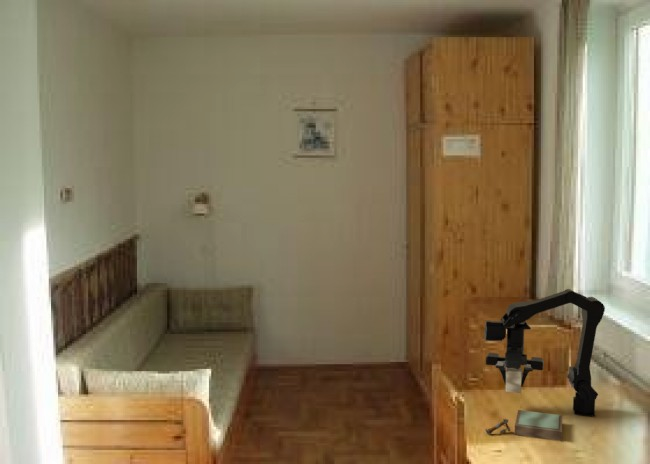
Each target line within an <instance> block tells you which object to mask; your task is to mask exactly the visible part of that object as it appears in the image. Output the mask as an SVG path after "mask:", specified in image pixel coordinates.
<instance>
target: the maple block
mask: <svg viewBox="0 0 650 464" xmlns="http://www.w3.org/2000/svg"><path fill="white" fill-rule="evenodd" d="M522 376H523V368H520V369H515V368H506V385H505V393H506V392H507V393H515V394H521V393H522V388H523V387H521V382H522Z"/></svg>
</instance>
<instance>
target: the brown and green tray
mask: <svg viewBox="0 0 650 464" xmlns="http://www.w3.org/2000/svg"><path fill="white" fill-rule="evenodd" d="M513 435H514V436H521V437H527V438H528V437H529V438H535V439H542V440H548V441H549V440H550V441H557V442H558V441H559V442H562V439H563V436H562V435H563V415H562V414H555V413H546V412H539V411H532V410H531V411H530V410H521V409H517V414H516V419H515V423H514V433H513Z"/></svg>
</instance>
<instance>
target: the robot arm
mask: <svg viewBox="0 0 650 464" xmlns="http://www.w3.org/2000/svg"><path fill="white" fill-rule="evenodd" d="M567 304H572V305H573V306H576V307H578V308H580V309H581V316H582V317H581V318H582V327H581V333H580V339H579V344H578V349H577V355H576V362H575V363H574V365H573V367H572V366H570V365H569V366H568V373H567V376H566V378H567V379H568V382H569V384H570V385H571V387H572V388H573V390H574V392H575V395H574V396H573V400H572V410H573V413H574V415H579V416H586V417H595V416H596V400H597V398H598V395H599V394H598V392H597V391H596V390H595V389H594V387H593V386H592V374H591V368H590V367H591V363H592V356H593V355H592V354H593V350H594V344H595V339H596V334H597V333H596V332H597V328H598V326H599V324H600V323H601V321H602V320H603V317H604V314H605V312H606V311H605V310H606V308H605V305H604V303H603V302H602V301H600V300H599V299H598V298H596V297H593V296H584V295H583V294H581V293H578V292H576V291H574V290H573V289H569V288H568V289H565V290H563V291H559V292H557V293H553V294H551V295H548V296H544V297H542V298H538V299H536V300H532V301H521V302H520V301H519V302H514V303H511V304H508V306H507V308H506V309H505V310H506V311H505V314H503V316H502V317H501V318H500V319H499V321H497V320H496V321H495V320H485V324H484V328H483V339H484V341H487V342H491V341H492V342H502V341H504V340H505V339H506V345H505V347H506V348H505V349H506V351H505V354H504V356H500V353H495V352H488V353H487V354H486V356H485V365H487V366H495V369H498V370H499V372H500V373H501V376H502V379H503V382H504V383H503V384H504V385H505V386H506V370H507V368H515V369H522V368H521V367H522V366H524V367H523V369H522V382H521V387H522V388H523V386H524V384H525V381H526V378H527V376H528V374H529V373H530V372H533V371H543V370H544V364H545V363H544V362H545V361H544V359H543V357H538V356H532V357H530V358H531V359H528V354H524V353H525V350H524V349H525V330H527V331H528V330H531V329H532V328H531V327H530V325H529V324H528V323H527V322H526V321H528V320H530V319H532V318H533V317H534V316H535V315H537V314H540V313H543V312H547V311H550V310H553V309H556V308H558V307H562V306H565V305H567Z"/></svg>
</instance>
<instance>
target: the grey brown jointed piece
mask: <svg viewBox="0 0 650 464" xmlns="http://www.w3.org/2000/svg"><path fill="white" fill-rule="evenodd" d="M508 423H509V418H503V419H502V421H501V422H498V423H496V425H494V426H493V427H490V428H485V429H484V430H485V432H486V434H488V436H491V434H492V433H493V432H494V431H496V430H498V429H499V428H501V427H502V426H504V427H506V428H502V429H500V430H499V434H504V433H506V431H508V432H511V428H510V427H509V425H508Z"/></svg>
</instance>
